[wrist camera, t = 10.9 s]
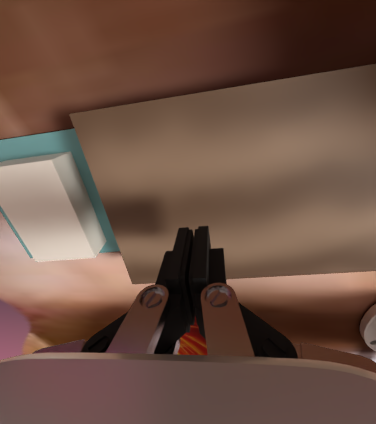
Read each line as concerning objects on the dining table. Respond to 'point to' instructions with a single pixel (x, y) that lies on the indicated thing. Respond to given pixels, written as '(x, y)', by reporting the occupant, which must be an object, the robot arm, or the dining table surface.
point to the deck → (243, 174)
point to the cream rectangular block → (50, 207)
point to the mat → (70, 143)
